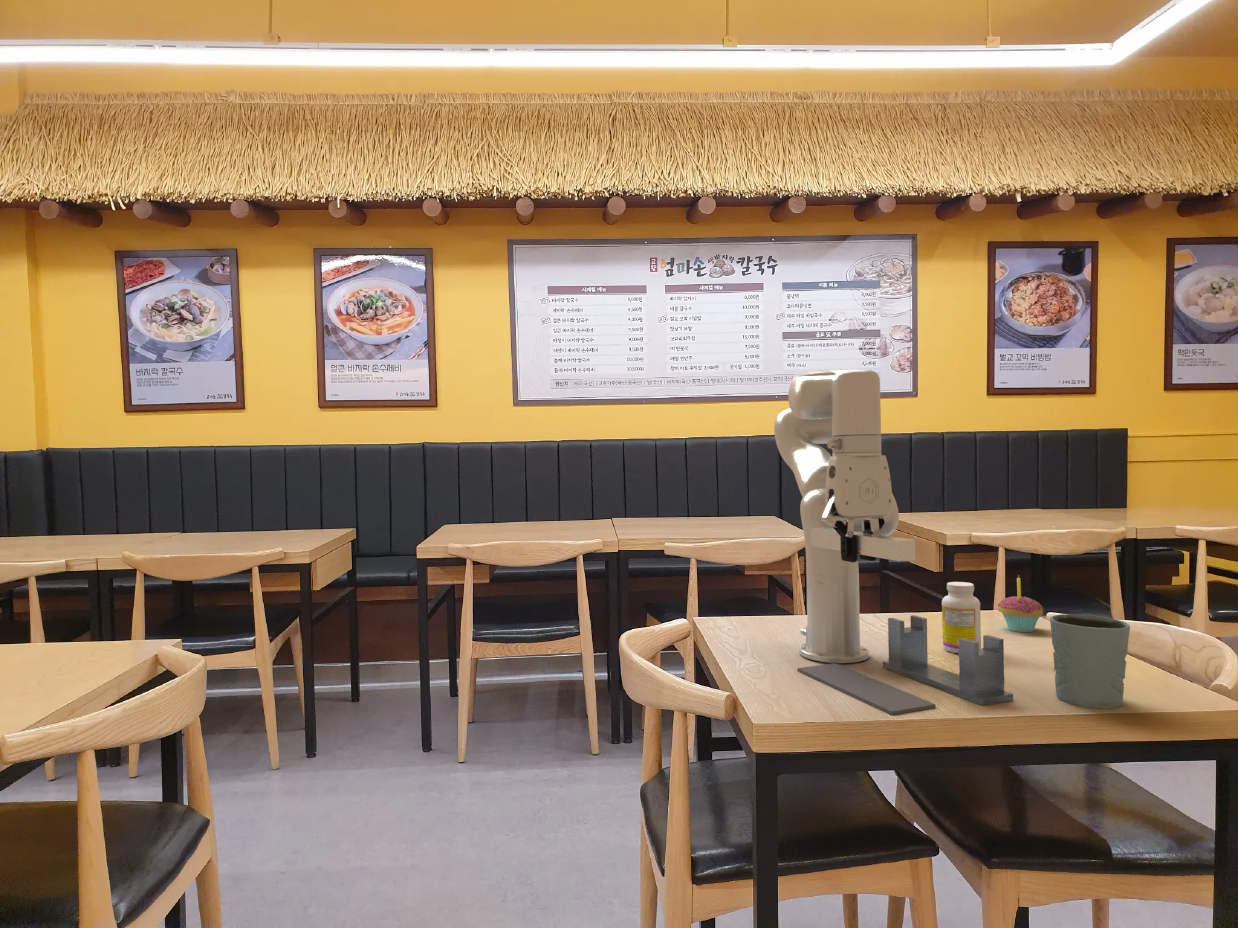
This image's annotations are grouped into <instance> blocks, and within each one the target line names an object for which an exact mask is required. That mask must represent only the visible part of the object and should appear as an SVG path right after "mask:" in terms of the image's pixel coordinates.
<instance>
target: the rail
mask: <svg viewBox="0 0 1238 928" xmlns="http://www.w3.org/2000/svg"><path fill="white" fill-rule="evenodd" d="M853 537H856V546H857V555H860V554H861V555H866V556H872V557H876V558H879V559H884V560H891V561H896V562H906V561H908V562H909V561H915V560H916V540H915V539H914V538H913V539H912V538H904V537H897V536H890V535H889V536H883V535H876V534H868V533H861V532H854V534H853ZM811 546H816V547H821V548H827V549H833V550H838V551H841V541H840V536H838V535H837V532H836V531H835V530H834V529H831V528H812V529H811Z"/></svg>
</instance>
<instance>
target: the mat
mask: <svg viewBox="0 0 1238 928" xmlns="http://www.w3.org/2000/svg"><path fill="white" fill-rule="evenodd" d="M796 670H798V671H797V672H799V671H800V672H799V673H801V672H802V673H801V674H803V673H804V674H803V675H805V674H806V675H805V676H807V675H808V677H809V676H810V677H809V678H812V679H814V680H816V681H817V682H820V683H823V684H825V685H827V686H829V687H831V688H833V689H835V690H838V691H839V692H842V693H844V694H846V695H848V696H850V697H852V698H854V699H857V700H858V701H860V702H863V703H865V704H867V705H869V706H872V707H874V708H876V709H878V710H880V711H883V712H884V713H887V714H889V715H891V716H894V715H900V714H905V713H911V712H918V711H924V710H929V709H934V708H935V709H936V705H937V704H936V703H933V702H931V701H928V700H926V699H923V698H921V697H918V696H916V695H914V694H912V693H909V692H906V691H904V690H901V689H900V688H897V687H894V686H893V685H889V684H887V683H885V682H882V681H880V680H877V679H876V678H873V677H870V676H868V675H866V674H863V673H861V672H858V671H856V670H853V669H851V668H848V667H846V666H844V665H841V664H840V663H825V664H818V665H810V666H804V667H798V668H797V669H796Z"/></svg>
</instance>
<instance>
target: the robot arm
mask: <svg viewBox="0 0 1238 928" xmlns="http://www.w3.org/2000/svg"><path fill="white" fill-rule="evenodd" d="M787 396H788V403H789V408H787V409H786V408H785V409H784V410H782V411H781V412H779V413H778V414H777V416H776V418H775V421H774V426H773V427H774V428H773V429H774V439H775V444H776V447H777V449H778V452H779V455H780V456H781V458H782V459H783V461H784V462H785V463H786V465H787V466H788V467H789V468H790V469H791V471H792V472H793V474H794V475H793V476H794V477H795V481H796V483H797V486H798V489H799V493H800V494H801V497H802V499H801V500H800V507H799V509H800V520H801V524H802V525H801V526H802V530H803V532H802V533H803V536H804V546H805V561H806V562H805V564H806V565H805V566H806V567H805V569H806V571H805V572H806V613H807V614H806V616H807V617H806V619H807V620H806V622H807V623H806V625H807V626H805V628H804V627H802V628H801V629H800V634H801V635H802V636H805V642H804V643H802V644H801V645H800V646H799V654H800V655H801V656H802V657H804V658H805V659H808V660H812V661H816V662H819V663H820V662H821V663H826V664H832V663H837V664H851V663H860V662H862V661H866V660H868V659H869V657H870V651H869V649H868V648H867V647H865V646H863V645H861V632H860V631H861V625H860V622H861V621H860V579H859V578H860V576H859V575H860V572H859V571H860V570H859V568H860V567H859V562H858V554H857V546H856V537H853V534H854V532H861V533H868V534H876V535H883V536H890V535H892V534H894V532H895V531H896V529H897V527H898V524H899V516H900V515H899V507H898V504H897V500H896V499H895V496H894V494H893V491H892V480H891V473H890V468H889V463H888V460H887V456H886V455H884V454H883V455H882V422H881V421H882V419H881V418H882V417H881V415H882V414H881V409H882V408H881V378H880V375H879V374H878V373H877V372H876V371H874V370H869V369H826V370H825V369H824V370H823V369H822V370H820V369H818V370H816V369H815V370H810V371H808V372H805V373H803V374H799V375H795V376H794V377H793V378H792V379H791V381H790V384H789V389H788V395H787ZM824 444H825V445H826V446H827V448H828V449H831V451H832V456H831V453H829V452H828V451H827V450H826V449H825V448H824V447H822V445H824ZM820 445H821V446H820ZM812 528H831V529H834V530H835V531H836V532H837V535H838V536H840V541H841V551H838V550H833V549H827V548H821V547H816V546H811V529H812ZM859 557H860V559H861V560H865V561H871V562H873V561H876V560H877V557H872V556H866V555H861V554H859Z"/></svg>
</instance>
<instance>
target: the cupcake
mask: <svg viewBox="0 0 1238 928" xmlns="http://www.w3.org/2000/svg"><path fill="white" fill-rule="evenodd" d="M1021 589H1022V585H1021V578H1020V575H1019V574H1017V578H1016V590H1017V593H1016V594H1017V595H1015V596H1009V597H1005V598H1003V599H1001V601H1000V602H999V603H997V611H998V612H999V613H1002V615H1003V618H1004V620H1005V622H1006V625H1007V628H1008V629H1009V630H1010V631H1013V632H1017V633H1033V632H1034V631H1035V629H1036V625H1037V624H1038V620H1039V619H1040V617H1041V616H1043V613H1044V610H1043V609H1044V606H1042V604H1040V602H1038V601H1037V600H1035V599H1032V598H1030V597H1027V596H1022V590H1021Z"/></svg>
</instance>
